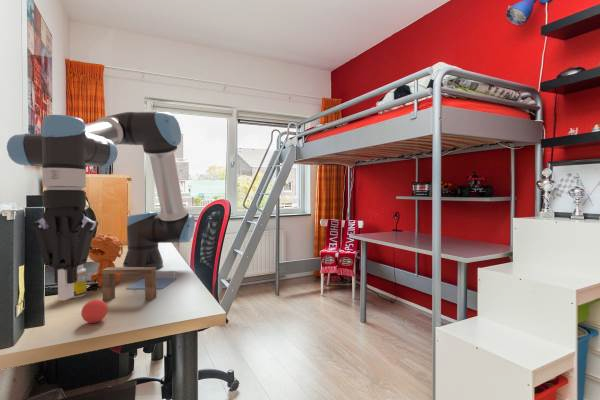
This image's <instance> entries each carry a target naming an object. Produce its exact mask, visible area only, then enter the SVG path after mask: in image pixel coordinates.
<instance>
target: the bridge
mask: <svg viewBox="0 0 600 400" xmlns="http://www.w3.org/2000/svg"><path fill="white" fill-rule="evenodd" d="M156 271H157V269H156V267H123V266H119V267H118V266H117V267H116V266H115V267H107V268H105V269H103V270H102V287H101V288H102V289H101V290H102V293H101V294H102V297H101V298H102V301H104V302H105V301H108V302H109V301H111V300H113V299H115V298H116V284H115V274H122V275H124V274H125V275H129V274H133V275H135V274H137V275H138V274H139V275H143V274H144V279H145V289H144V301H153V300H155V299H157V289H156Z"/></svg>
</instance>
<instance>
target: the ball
mask: <svg viewBox="0 0 600 400" xmlns="http://www.w3.org/2000/svg"><path fill="white" fill-rule="evenodd" d="M108 309H109V308H108V305H107V303H106V302H105V301H103V299H98V298H97V299H91V300H89V301H88V302H86V303H85V304H84V305H83V306H82V309H81V317H82V319H83V320H84V321H85V322H87V323H91V324H93V323H95V324H96V323H98V322H100V321H102V320H103V319H105V317H106V316H107V314H108Z"/></svg>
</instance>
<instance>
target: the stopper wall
mask: <svg viewBox="0 0 600 400" xmlns="http://www.w3.org/2000/svg"><path fill="white" fill-rule="evenodd" d="M162 278H176V271H175V270H156V279H162Z"/></svg>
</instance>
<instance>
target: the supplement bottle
mask: <svg viewBox="0 0 600 400" xmlns="http://www.w3.org/2000/svg"><path fill="white" fill-rule="evenodd" d="M87 279H88V278H87V268H86V267H84V264H82V265H79V266H78V267H77V281H76V282H74V296H73V297H71V298H70V299H77V298H82V297H85V295H87V293H88V291H87V290H88V289H87V287H88V286H87Z"/></svg>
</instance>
